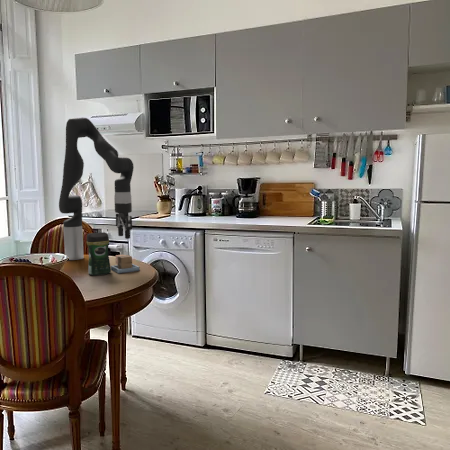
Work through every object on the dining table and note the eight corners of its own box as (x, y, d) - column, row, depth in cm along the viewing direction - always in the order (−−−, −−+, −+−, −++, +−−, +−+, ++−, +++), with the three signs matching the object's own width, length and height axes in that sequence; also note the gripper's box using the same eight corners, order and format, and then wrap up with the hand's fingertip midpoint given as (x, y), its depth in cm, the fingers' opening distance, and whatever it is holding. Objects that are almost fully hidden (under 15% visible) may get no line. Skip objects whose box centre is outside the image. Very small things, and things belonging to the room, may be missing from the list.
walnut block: (118, 268, 199) (117, 256, 199) (128, 267, 202) (127, 254, 201) (121, 270, 195) (121, 257, 195) (132, 269, 198) (131, 256, 197)
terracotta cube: (115, 263, 215) (115, 255, 214) (123, 262, 217) (123, 254, 216) (118, 264, 211) (118, 256, 211) (126, 263, 214) (126, 255, 213)
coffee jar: (108, 270, 198) (106, 230, 196) (112, 274, 191) (110, 232, 189) (86, 273, 194) (84, 232, 191) (90, 276, 187) (88, 234, 184)
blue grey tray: (110, 269, 200) (110, 265, 200) (131, 266, 206) (131, 263, 205) (118, 273, 192) (118, 269, 192) (139, 270, 197) (139, 266, 197)
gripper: (109, 201, 199) (110, 236, 201) (120, 203, 187) (121, 240, 189) (125, 200, 203) (126, 234, 205) (137, 202, 191) (138, 238, 193)
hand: (124, 237), depth 197 cm, fingers open, 8 cm apart
